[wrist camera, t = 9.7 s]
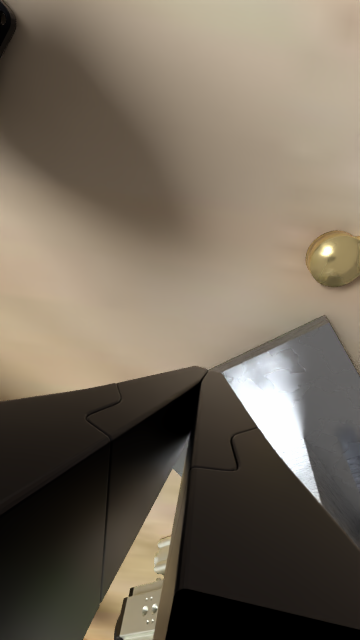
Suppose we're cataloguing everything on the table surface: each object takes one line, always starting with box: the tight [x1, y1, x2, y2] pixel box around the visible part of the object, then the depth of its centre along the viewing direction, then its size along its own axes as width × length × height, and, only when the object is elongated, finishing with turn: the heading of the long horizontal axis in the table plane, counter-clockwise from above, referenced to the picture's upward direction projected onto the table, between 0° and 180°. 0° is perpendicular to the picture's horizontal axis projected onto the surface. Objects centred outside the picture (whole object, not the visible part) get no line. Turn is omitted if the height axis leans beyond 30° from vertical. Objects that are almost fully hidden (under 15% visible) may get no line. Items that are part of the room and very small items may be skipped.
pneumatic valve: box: [114, 536, 171, 640], centre depth 32 cm, size 6×12×12 cm, turn 132°
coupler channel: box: [173, 315, 360, 516], centre depth 27 cm, size 30×18×4 cm, turn 36°
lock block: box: [275, 440, 360, 549], centre depth 24 cm, size 16×6×12 cm, turn 36°
